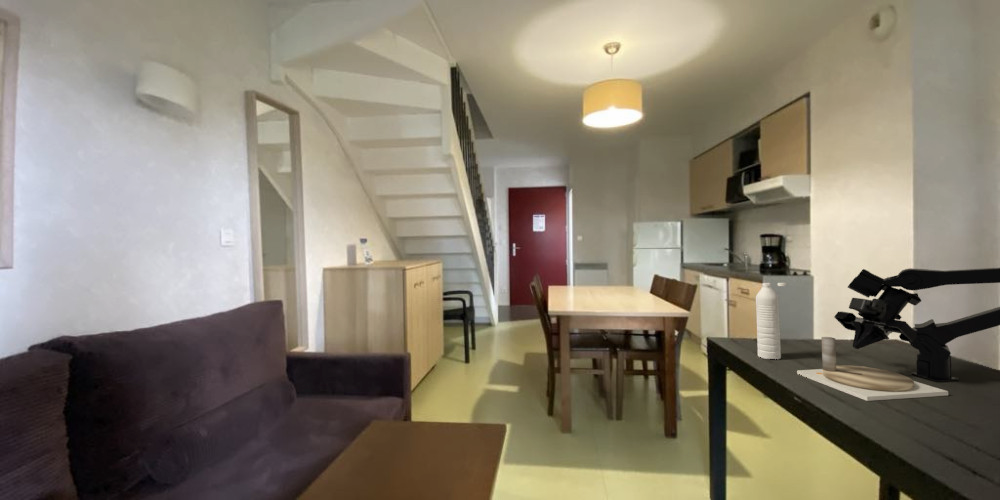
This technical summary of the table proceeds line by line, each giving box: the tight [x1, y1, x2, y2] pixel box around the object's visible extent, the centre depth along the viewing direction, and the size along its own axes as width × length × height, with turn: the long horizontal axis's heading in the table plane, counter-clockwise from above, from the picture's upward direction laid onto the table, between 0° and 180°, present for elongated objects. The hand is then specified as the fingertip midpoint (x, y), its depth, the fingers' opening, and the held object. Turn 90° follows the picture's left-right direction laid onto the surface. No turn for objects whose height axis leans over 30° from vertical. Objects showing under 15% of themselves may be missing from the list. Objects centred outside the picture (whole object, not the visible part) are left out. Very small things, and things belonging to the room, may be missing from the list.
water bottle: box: [755, 282, 788, 360], centre depth 134 cm, size 9×6×25 cm
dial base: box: [796, 366, 949, 402], centre depth 108 cm, size 21×21×1 cm
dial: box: [821, 336, 915, 391], centre depth 108 cm, size 18×18×10 cm
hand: (854, 347), depth 114 cm, fingers closed
